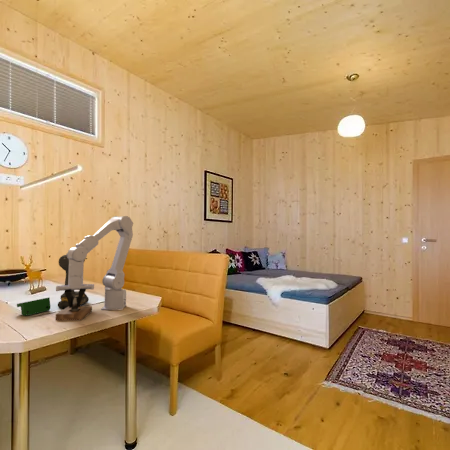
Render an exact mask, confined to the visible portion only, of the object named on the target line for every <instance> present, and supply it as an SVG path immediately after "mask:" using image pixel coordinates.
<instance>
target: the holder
mask: <svg viewBox="0 0 450 450" xmlns="http://www.w3.org/2000/svg"><path fill="white" fill-rule="evenodd" d="M92 312H93V306H92V305H91V306H90V305H89V306H88V305H87V306H86V305H85V306H84V305H80V307H78V312H74V311H71V308H69V307H67V308H63V309H62V310H60V311H58V312H57V313H55V321H82V320H83V319H85V318H86V317H88V315H90V314H91V313H92Z"/></svg>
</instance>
